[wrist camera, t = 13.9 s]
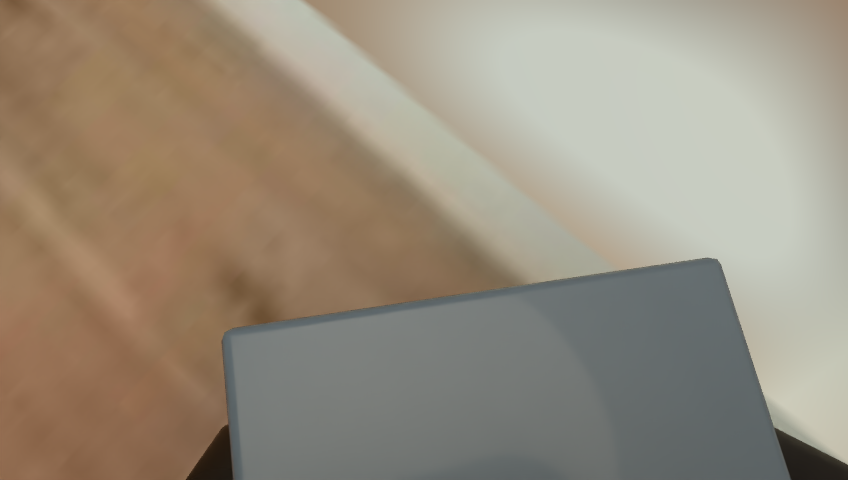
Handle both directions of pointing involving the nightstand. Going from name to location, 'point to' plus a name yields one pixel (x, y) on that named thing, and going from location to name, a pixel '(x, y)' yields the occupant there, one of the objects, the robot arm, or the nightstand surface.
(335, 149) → the nightstand surface
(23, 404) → the nightstand surface
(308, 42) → the nightstand surface
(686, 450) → the top block
